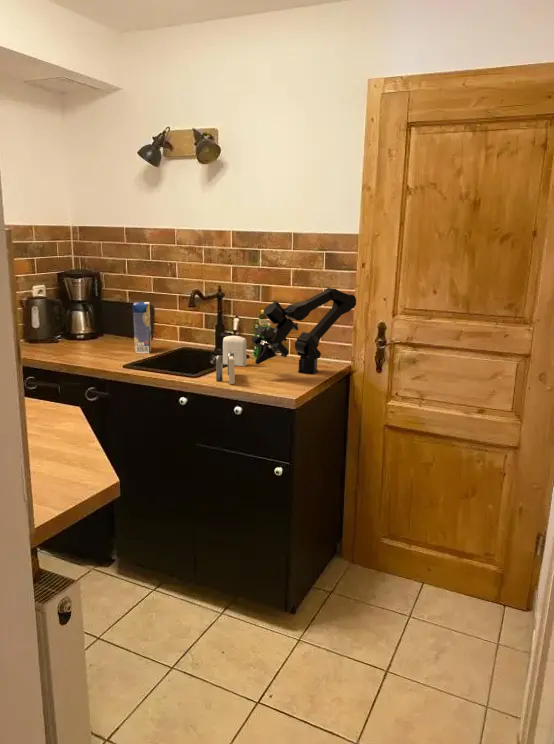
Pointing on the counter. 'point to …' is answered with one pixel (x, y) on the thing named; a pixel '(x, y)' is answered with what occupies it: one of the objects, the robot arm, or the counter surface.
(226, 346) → the photo printer
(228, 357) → the hinge post
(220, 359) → the post
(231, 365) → the off-white flat slab
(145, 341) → the beverage box
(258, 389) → the counter surface
